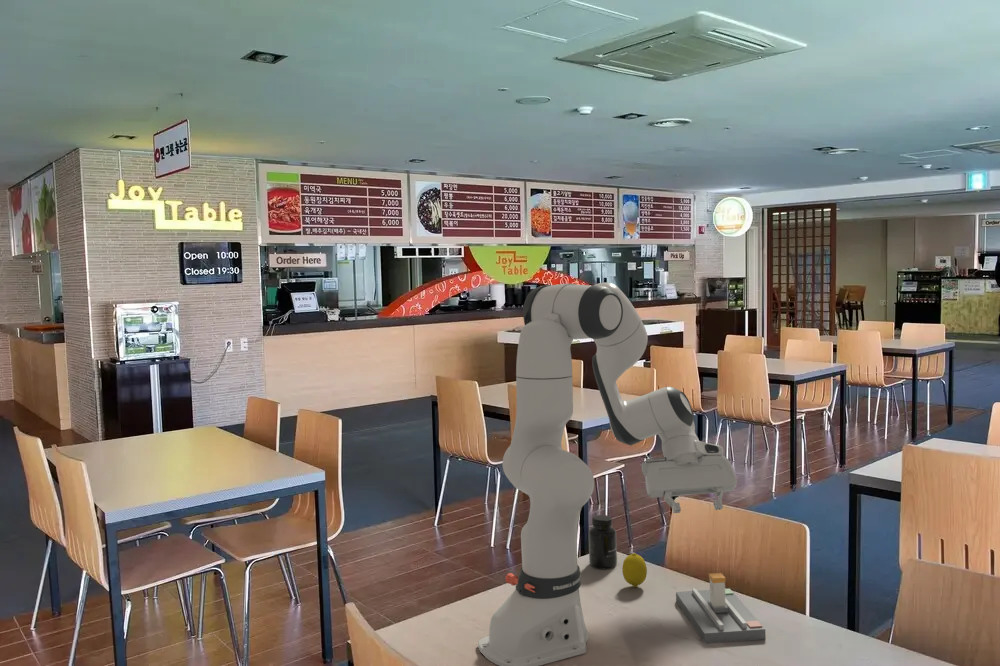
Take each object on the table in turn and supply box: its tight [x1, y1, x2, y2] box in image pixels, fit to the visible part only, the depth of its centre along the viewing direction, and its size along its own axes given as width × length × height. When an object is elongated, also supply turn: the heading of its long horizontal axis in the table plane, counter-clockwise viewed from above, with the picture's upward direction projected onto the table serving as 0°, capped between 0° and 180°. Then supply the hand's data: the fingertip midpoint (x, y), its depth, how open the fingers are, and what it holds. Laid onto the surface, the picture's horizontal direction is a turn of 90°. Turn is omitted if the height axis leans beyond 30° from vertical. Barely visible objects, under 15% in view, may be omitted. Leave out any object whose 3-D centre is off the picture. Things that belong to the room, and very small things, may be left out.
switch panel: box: [675, 587, 766, 644], centre depth 163 cm, size 20×12×3 cm, turn 3°
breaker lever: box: [708, 572, 728, 613], centre depth 163 cm, size 4×3×7 cm
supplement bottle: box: [588, 514, 618, 570], centre depth 195 cm, size 7×7×12 cm
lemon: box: [621, 552, 648, 588], centre depth 181 cm, size 6×6×8 cm
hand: (698, 510), depth 174 cm, fingers open, 8 cm apart
